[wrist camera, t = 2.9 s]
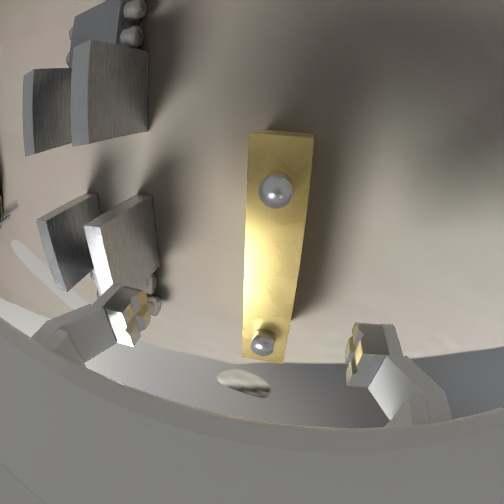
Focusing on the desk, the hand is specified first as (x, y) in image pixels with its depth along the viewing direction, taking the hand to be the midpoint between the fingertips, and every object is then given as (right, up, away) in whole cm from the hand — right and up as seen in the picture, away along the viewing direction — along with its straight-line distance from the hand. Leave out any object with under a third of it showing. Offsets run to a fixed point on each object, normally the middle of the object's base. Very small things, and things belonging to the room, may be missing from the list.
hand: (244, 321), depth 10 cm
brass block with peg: (+2, +3, +6) cm, 7 cm away
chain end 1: (-8, +14, +2) cm, 17 cm away
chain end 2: (-9, +2, +9) cm, 13 cm away
